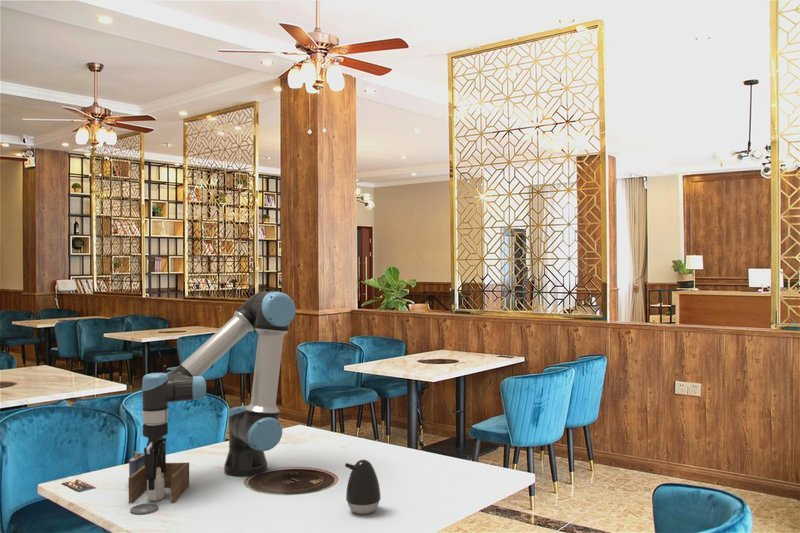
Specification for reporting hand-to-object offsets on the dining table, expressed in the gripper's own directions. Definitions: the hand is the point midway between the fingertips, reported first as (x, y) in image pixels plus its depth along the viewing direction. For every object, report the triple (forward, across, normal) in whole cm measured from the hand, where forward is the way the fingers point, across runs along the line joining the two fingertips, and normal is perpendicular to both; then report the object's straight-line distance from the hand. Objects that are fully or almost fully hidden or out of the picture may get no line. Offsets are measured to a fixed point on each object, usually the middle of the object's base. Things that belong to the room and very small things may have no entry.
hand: (155, 496), depth 215 cm
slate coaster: (+1, +10, 0) cm, 10 cm away
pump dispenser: (+1, +14, +66) cm, 67 cm away
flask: (+1, -17, -12) cm, 21 cm away
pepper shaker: (+1, 0, 0) cm, 1 cm away
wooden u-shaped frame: (+1, -4, 0) cm, 4 cm away
